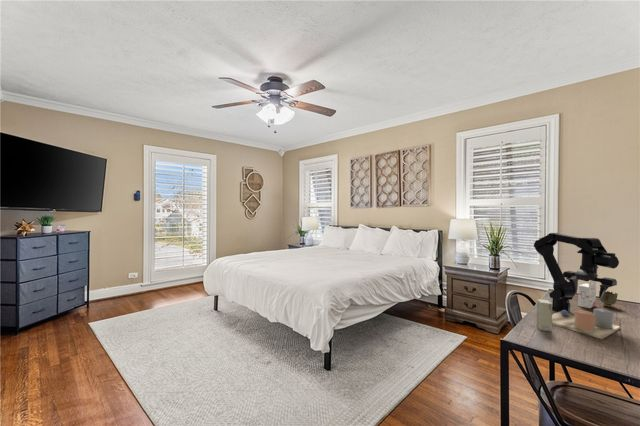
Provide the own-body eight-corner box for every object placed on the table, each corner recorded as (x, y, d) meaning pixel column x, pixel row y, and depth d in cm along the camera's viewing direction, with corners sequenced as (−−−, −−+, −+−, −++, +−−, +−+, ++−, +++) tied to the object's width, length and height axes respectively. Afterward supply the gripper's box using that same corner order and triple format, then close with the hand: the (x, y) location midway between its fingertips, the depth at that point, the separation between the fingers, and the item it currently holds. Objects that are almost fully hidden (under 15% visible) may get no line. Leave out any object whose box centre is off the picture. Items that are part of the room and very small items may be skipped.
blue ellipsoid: (559, 315, 145) (559, 309, 145) (562, 314, 147) (562, 308, 146) (567, 317, 142) (567, 311, 142) (569, 316, 144) (569, 310, 144)
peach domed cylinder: (578, 324, 134) (578, 309, 134) (596, 329, 128) (597, 313, 128) (572, 327, 131) (572, 311, 130) (590, 332, 125) (591, 316, 125)
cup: (594, 304, 167) (595, 290, 167) (606, 304, 168) (607, 290, 167) (608, 308, 159) (609, 294, 159) (621, 308, 160) (621, 294, 160)
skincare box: (552, 332, 128) (553, 304, 127) (539, 330, 129) (540, 302, 129) (547, 326, 133) (548, 300, 133) (536, 324, 135) (537, 298, 135)
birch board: (540, 320, 140) (540, 318, 140) (560, 313, 152) (560, 310, 151) (602, 339, 121) (602, 336, 121) (620, 328, 133) (620, 326, 133)
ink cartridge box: (584, 303, 168) (585, 278, 167) (595, 306, 163) (596, 280, 163) (577, 305, 164) (578, 279, 163) (588, 308, 159) (589, 281, 159)
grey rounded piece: (590, 325, 134) (591, 309, 133) (595, 322, 137) (596, 307, 137) (609, 330, 128) (610, 314, 128) (614, 327, 131) (615, 312, 131)
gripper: (558, 261, 146) (556, 292, 147) (608, 269, 130) (606, 304, 130) (568, 259, 152) (567, 289, 152) (618, 267, 135) (616, 300, 136)
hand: (587, 295), depth 143 cm, fingers open, 9 cm apart
